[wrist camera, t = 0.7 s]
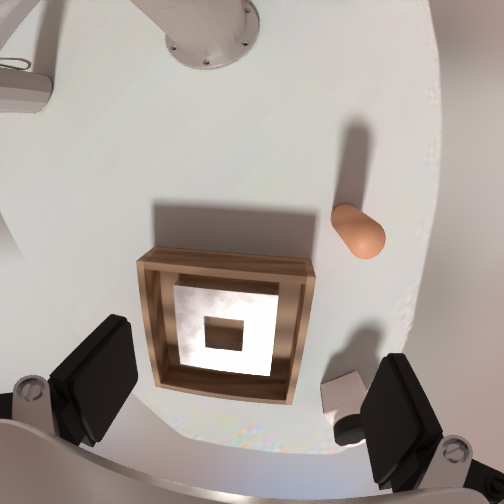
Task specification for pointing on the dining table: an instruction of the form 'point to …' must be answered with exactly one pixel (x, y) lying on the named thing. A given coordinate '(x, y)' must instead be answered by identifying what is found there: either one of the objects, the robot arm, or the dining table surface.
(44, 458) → the robot arm
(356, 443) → the medicine bottle
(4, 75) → the water bottle
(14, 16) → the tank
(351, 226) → the peg
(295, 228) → the dining table surface
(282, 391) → the open box
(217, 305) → the bore plate
